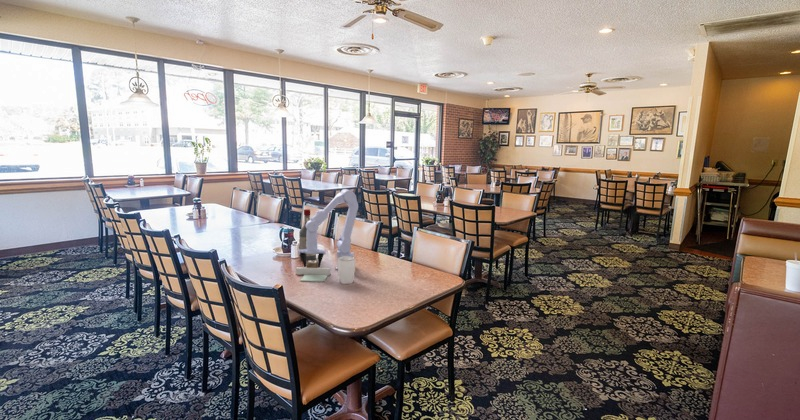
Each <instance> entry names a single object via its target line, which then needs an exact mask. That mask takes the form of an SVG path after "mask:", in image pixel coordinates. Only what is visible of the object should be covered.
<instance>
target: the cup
mask: <svg viewBox="0 0 800 420" xmlns="http://www.w3.org/2000/svg"><path fill="white" fill-rule="evenodd" d="M336 266H338V269H337V271H338V278H339V283H340V284H343V285H348V284H352V283H353V282H354V277H355V272H356V258H355V256H354V257H350V256H344V257H339V258H338V261H337V260H336Z"/></svg>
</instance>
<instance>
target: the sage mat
mask: <svg viewBox="0 0 800 420" xmlns="http://www.w3.org/2000/svg"><path fill="white" fill-rule="evenodd" d="M328 276H329V275H303V276H302V277H301V279H300V280H299V282H312V283H325V281H326V280H327V278H328Z"/></svg>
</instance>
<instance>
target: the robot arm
mask: <svg viewBox="0 0 800 420" xmlns="http://www.w3.org/2000/svg"><path fill="white" fill-rule="evenodd" d="M339 204H346V205H347V206H348V210H347V212H346V217H345V220H344V224H343V228H342V231H341V235H340V236H339V238H338V240H337V241H336V244H335V246H336V248H337V251H336V262H337V261H338V258H339V257H344V256H350V257H354V258H355V252H352V251H351V249H352V248H351V246H352V245H351V242H352V239H351V237H352V234H353V229H354V224H355V220H356V218H357V215H358V211H359V202H358V199H357V195H356V194H355V192H353V190H349V189H348V188H343V189H341V190H340V192H337V194H336V195H335V196H334V197H333V199H331V200H330V202H329V203H328V204H327V205H326V206H325V207H324V209H323V208H322V209H319V210H317V211H316V213H315V214H314V215H313V216H312V217H310V220H309V221H307V223H306V225H305V226H306V228H307V234H306V239H307V249H303V250H300V249H298V251H297V254H298V255H299V258H300V257H301V259H302V260H301V259H300V260H301V261H302V263H303V268H307V261H306V254H316V255H317V261H318V268H321V263H322V262H323V261H322V260H323V258H324V257H325V255H326V252H327V251H326V250H325V249H318V230H319V226H321V225H322V224H323V222H325V221H326V220H327V218H329V213H331V211H332V210H334V209H335V208H336V207H337V206H338V205H339ZM335 270H338V266H337V265H336V267H335Z"/></svg>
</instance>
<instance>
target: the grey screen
mask: <svg viewBox="0 0 800 420" xmlns="http://www.w3.org/2000/svg"><path fill="white" fill-rule="evenodd" d="M295 275H301V276H302V275H303V276H304V275H328V276H331V267H318V268H307V267H300V266H299V267H298V266H297V267H296V268H295Z"/></svg>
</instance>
